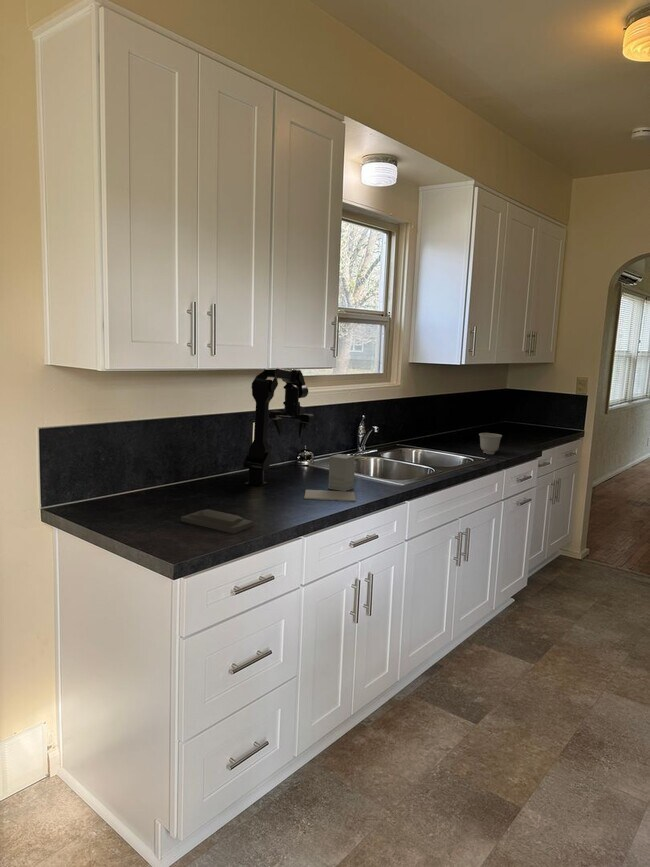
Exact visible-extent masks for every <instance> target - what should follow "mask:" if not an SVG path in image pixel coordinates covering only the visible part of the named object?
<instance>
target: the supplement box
mask: <svg viewBox="0 0 650 867" xmlns="http://www.w3.org/2000/svg"><path fill="white" fill-rule="evenodd" d="M328 462H329V466H328V488H329V490H332V491H343V492H348V491H350V489H351V490H353V489H354V488H355V471H356V470H355V467H356V456H355V455H348V454H342V453H337V454H334V455H330V456H329V460H328ZM347 490H348V491H347Z"/></svg>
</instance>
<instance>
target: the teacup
mask: <svg viewBox="0 0 650 867" xmlns="http://www.w3.org/2000/svg"><path fill="white" fill-rule="evenodd" d="M478 435H479V443H480V444H479V446H480V448H481V450H482V451H483V452H482V453H483V454H484V453H486V454H485V455H495V452H497V451H498V450H499V447H500V443H501V439H502V437H503V434H499V433H492V432H491V433H490V432H480V433H478Z"/></svg>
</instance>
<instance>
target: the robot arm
mask: <svg viewBox="0 0 650 867" xmlns="http://www.w3.org/2000/svg"><path fill="white" fill-rule="evenodd" d="M284 369H285V368H279V369H276V370H265V369H264V370H263V371H261V372H260V373H258V374H257V375H256V376H255V377H254V379H253V381H252V383H251V395H252V397H253V399H254V401H255V412H254V413H255V416H254V428H253V429H254V433H253V441H252V443H251V444H250V445H249V447H248V452H247V454H246V456H245V458H244V460H243V462H242V463H243V464H242V465H243V468H245V469H248V481H246V482H245V483H244V485H247V486H253V487H262V486H264V485H266V484H268V482H267V481H264V480H265V471H266V470H269V469H270V465H271V460H272V445H271V444H269V443H268V429H269V428H268V424H269V423H268V422H269V419H270V421H272V423H273V424H274V426H275V428H276V430H277V431H276V432H277V433H278V435H279V436H282V433H283V430H282V428H283V426H282V425H283V424H282V423H283V420H284V419H294V420H299V422H298V438H299V439H302V436H303V434H304V431H305V430H306V428H307V426H308V424H310V423H312V422H314V421H315V416H314V414H313V413H305V407H304V406H301V403H300V402H301V401H299V399H303V398H304V399H305V398H306V397H307V396H308V395H309V388H308V387H307V386H306V381H305V378H304V374H303V372H302V370H301V369H298V368H297V369H295V368H292V369H293V370H284ZM268 378H273V380H272V379H268ZM278 379H281V381H282V382H283V383H285V385H284V386H283V389H284V401H283V402H282V403H283V404H282V405H284V406H283V407H284V408H283V410H284V411H282V410H271V411H270V406H269V405H270V402H271V400H272V399H273V398H274V396H275V391H276V389H277V387H278V386H279V382H278Z"/></svg>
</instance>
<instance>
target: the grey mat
mask: <svg viewBox="0 0 650 867" xmlns="http://www.w3.org/2000/svg"><path fill="white" fill-rule="evenodd" d="M304 492H305V493H304V497H303V498H304V500H314V501H315V500H318V501H319V500H321V501H334V500H338V502H354V501H355V502H356V492H355V491H339V490H320V489H319V490H318V489H305V491H304Z"/></svg>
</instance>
